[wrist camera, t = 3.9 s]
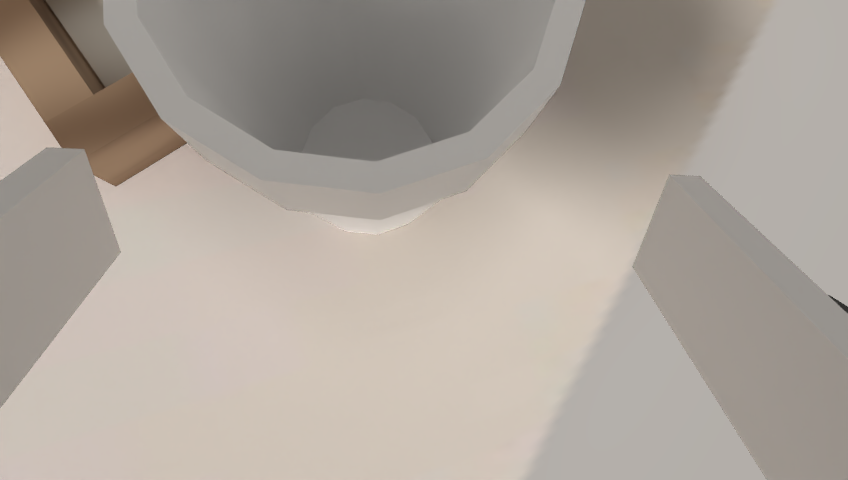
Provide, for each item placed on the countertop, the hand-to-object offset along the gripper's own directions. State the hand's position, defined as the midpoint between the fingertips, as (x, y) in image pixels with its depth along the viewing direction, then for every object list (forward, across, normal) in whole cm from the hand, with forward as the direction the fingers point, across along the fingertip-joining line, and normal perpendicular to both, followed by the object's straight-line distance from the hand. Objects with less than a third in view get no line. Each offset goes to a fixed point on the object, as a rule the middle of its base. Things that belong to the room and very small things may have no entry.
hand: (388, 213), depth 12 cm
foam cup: (+10, -1, -4) cm, 11 cm away
